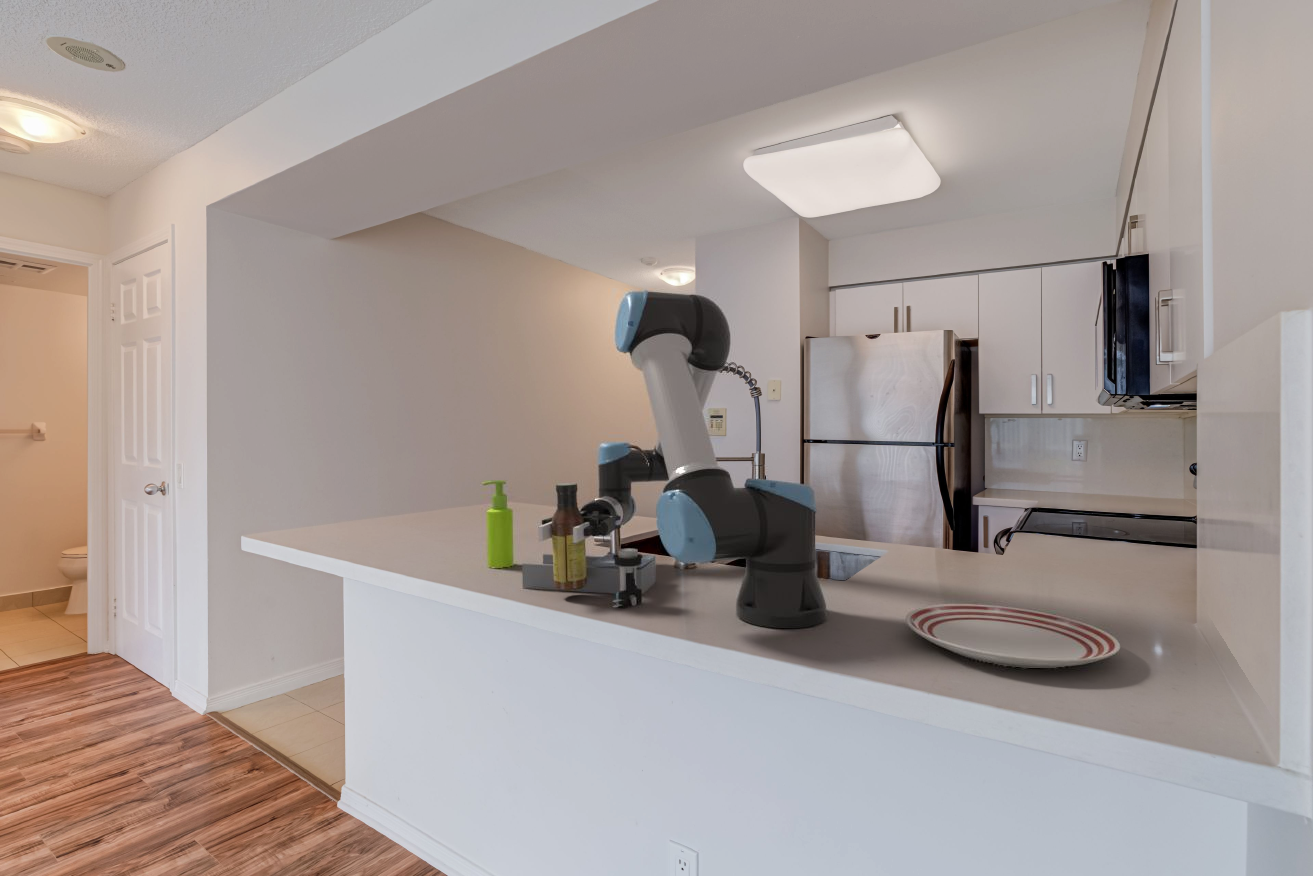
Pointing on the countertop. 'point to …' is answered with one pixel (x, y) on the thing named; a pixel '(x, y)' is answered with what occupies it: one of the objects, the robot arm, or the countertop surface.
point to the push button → (628, 578)
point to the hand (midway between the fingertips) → (557, 534)
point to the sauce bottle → (567, 540)
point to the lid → (610, 561)
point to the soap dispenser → (499, 529)
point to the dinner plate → (1012, 635)
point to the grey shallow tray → (596, 579)
